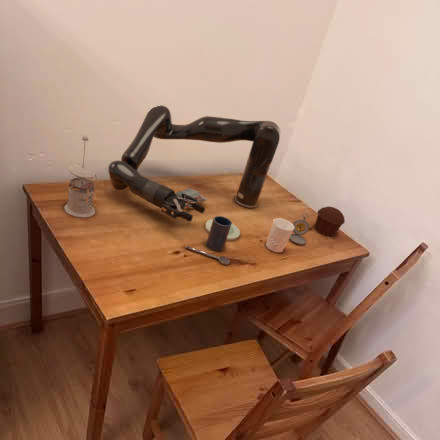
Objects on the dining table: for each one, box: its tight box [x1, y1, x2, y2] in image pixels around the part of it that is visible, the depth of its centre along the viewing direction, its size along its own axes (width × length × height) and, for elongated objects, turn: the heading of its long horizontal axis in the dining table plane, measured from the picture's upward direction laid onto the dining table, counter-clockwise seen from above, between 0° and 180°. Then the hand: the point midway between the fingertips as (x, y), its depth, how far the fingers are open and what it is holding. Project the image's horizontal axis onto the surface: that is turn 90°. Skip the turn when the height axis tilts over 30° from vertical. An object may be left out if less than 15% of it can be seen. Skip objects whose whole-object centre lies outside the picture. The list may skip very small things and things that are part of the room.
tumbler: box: [205, 215, 233, 252], centre depth 145 cm, size 6×6×10 cm
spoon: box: [185, 245, 231, 266], centre depth 142 cm, size 4×16×1 cm, turn 78°
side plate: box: [204, 218, 241, 242], centre depth 157 cm, size 13×13×1 cm
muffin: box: [314, 206, 345, 237], centre depth 178 cm, size 12×11×10 cm
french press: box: [63, 135, 97, 218], centre depth 137 cm, size 10×12×25 cm
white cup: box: [265, 217, 294, 253], centre depth 155 cm, size 8×8×10 cm
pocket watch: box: [289, 213, 310, 246], centre depth 165 cm, size 8×8×10 cm
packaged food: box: [175, 187, 208, 210], centre depth 165 cm, size 9×12×5 cm
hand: (198, 214), depth 145 cm, fingers open, 8 cm apart
